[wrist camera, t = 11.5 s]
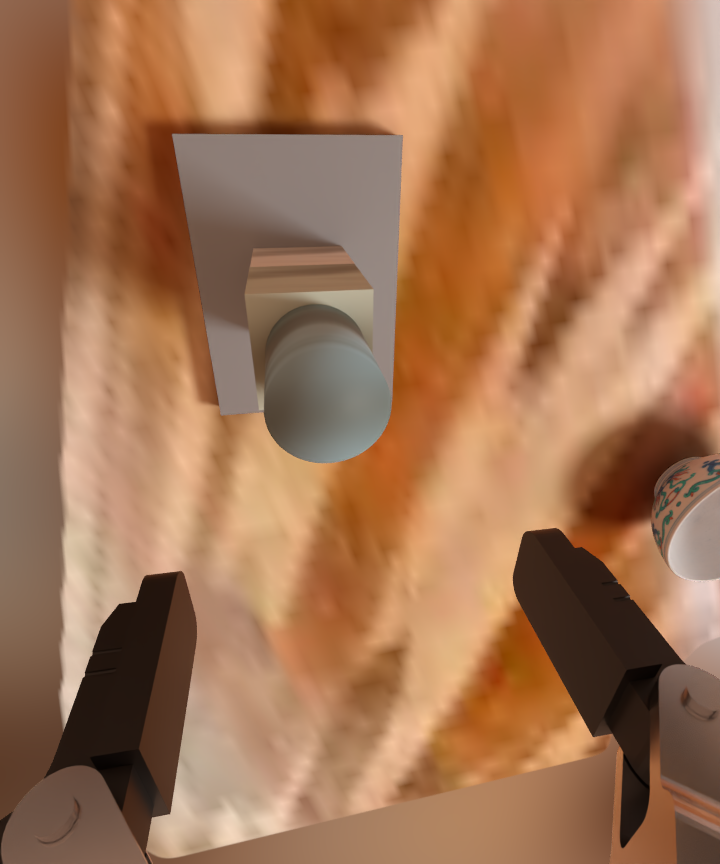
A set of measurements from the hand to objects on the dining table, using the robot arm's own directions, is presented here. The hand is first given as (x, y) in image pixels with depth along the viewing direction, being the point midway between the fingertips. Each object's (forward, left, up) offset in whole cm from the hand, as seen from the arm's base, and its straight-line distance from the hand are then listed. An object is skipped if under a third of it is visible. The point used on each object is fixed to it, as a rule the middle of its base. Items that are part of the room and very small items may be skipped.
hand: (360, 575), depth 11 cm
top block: (0, 0, -20) cm, 20 cm away
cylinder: (0, 0, -14) cm, 15 cm away
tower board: (0, 0, -28) cm, 28 cm away
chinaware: (+23, +41, -28) cm, 55 cm away
